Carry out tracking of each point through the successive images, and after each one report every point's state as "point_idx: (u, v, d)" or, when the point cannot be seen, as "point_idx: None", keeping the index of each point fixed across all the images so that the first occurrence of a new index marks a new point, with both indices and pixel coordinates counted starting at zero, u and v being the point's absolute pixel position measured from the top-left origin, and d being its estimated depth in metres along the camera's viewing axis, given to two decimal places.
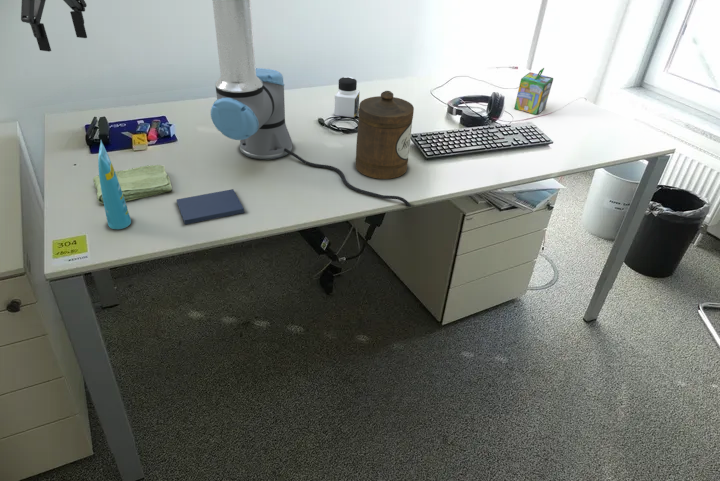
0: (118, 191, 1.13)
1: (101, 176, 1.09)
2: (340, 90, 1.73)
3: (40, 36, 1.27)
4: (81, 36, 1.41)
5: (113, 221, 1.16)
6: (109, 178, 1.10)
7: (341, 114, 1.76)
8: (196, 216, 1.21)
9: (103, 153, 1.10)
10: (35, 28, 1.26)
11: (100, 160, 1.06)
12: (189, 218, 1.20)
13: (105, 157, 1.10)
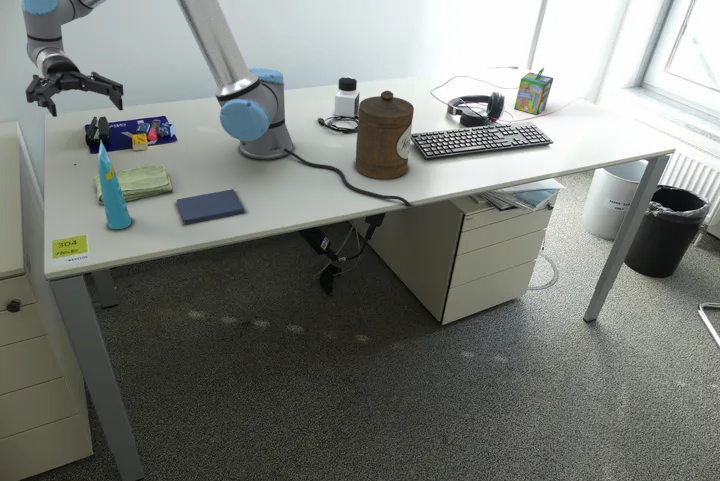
0: (118, 191, 1.13)
1: (101, 176, 1.09)
2: (340, 90, 1.73)
3: (43, 100, 1.11)
4: (118, 103, 1.18)
5: (113, 221, 1.16)
6: (109, 178, 1.10)
7: (341, 114, 1.76)
8: (196, 216, 1.21)
9: (103, 153, 1.10)
10: (38, 98, 1.12)
11: (100, 160, 1.06)
12: (189, 218, 1.20)
13: (105, 157, 1.10)
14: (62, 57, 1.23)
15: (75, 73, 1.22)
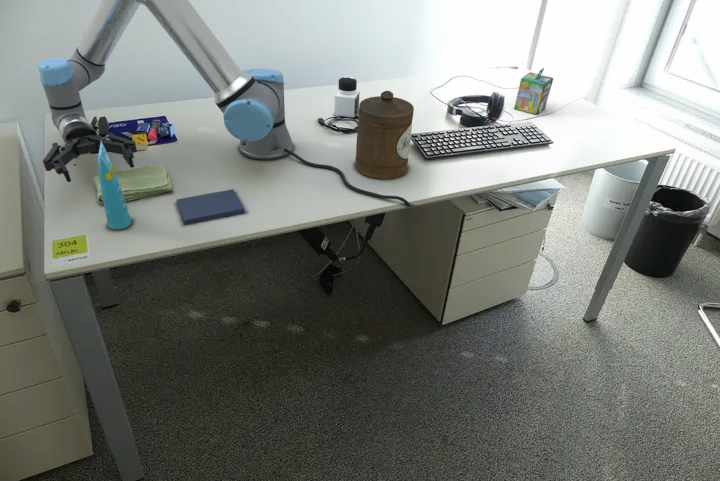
0: (118, 191, 1.13)
1: (101, 176, 1.09)
2: (340, 90, 1.73)
3: (58, 167, 1.16)
4: (129, 161, 1.21)
5: (113, 221, 1.16)
6: (109, 178, 1.10)
7: (341, 114, 1.76)
8: (196, 216, 1.21)
9: (103, 153, 1.10)
10: (54, 166, 1.17)
11: (100, 160, 1.06)
12: (189, 218, 1.20)
13: (105, 157, 1.10)
14: (79, 122, 1.29)
15: (91, 136, 1.27)
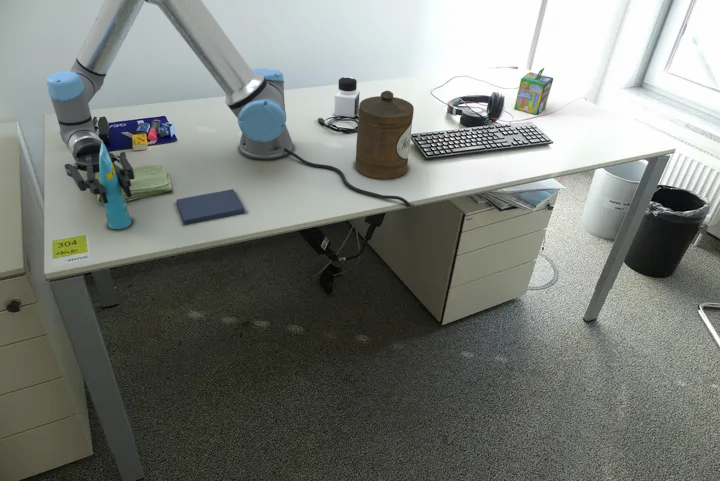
0: (118, 191, 1.13)
1: (102, 176, 1.09)
2: (340, 90, 1.73)
3: (94, 188, 1.10)
4: (126, 190, 1.11)
5: (113, 221, 1.16)
6: (110, 178, 1.10)
7: (341, 114, 1.76)
8: (196, 216, 1.21)
9: (104, 153, 1.10)
10: (89, 186, 1.11)
11: (101, 160, 1.06)
12: (189, 218, 1.20)
13: (106, 157, 1.10)
14: (90, 139, 1.22)
15: None
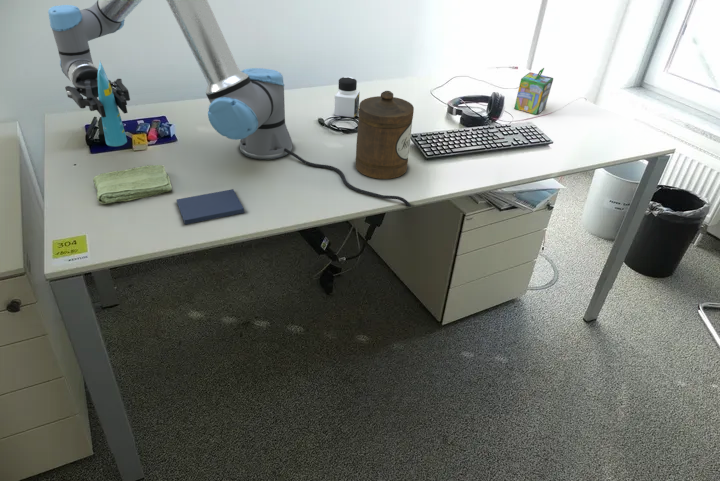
0: (115, 109, 1.23)
1: (100, 92, 1.19)
2: (340, 90, 1.73)
3: (93, 104, 1.20)
4: (122, 106, 1.21)
5: (110, 137, 1.26)
6: (107, 94, 1.20)
7: (341, 114, 1.76)
8: (196, 216, 1.21)
9: (102, 72, 1.20)
10: (89, 102, 1.21)
11: (99, 75, 1.16)
12: (189, 218, 1.20)
13: (104, 75, 1.21)
14: (88, 66, 1.32)
15: None
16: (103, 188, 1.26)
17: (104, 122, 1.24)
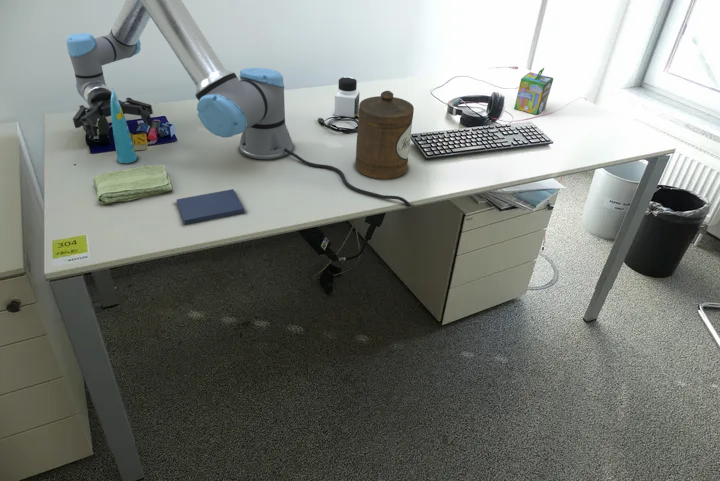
0: (126, 130, 1.38)
1: (113, 116, 1.34)
2: (340, 90, 1.73)
3: (86, 124, 1.34)
4: (147, 120, 1.39)
5: (122, 156, 1.41)
6: (119, 118, 1.35)
7: (341, 114, 1.76)
8: (196, 216, 1.21)
9: (114, 98, 1.35)
10: (82, 123, 1.35)
11: (112, 102, 1.31)
12: (189, 218, 1.20)
13: (116, 101, 1.36)
14: (102, 88, 1.47)
15: None
16: (103, 188, 1.26)
17: (116, 142, 1.39)
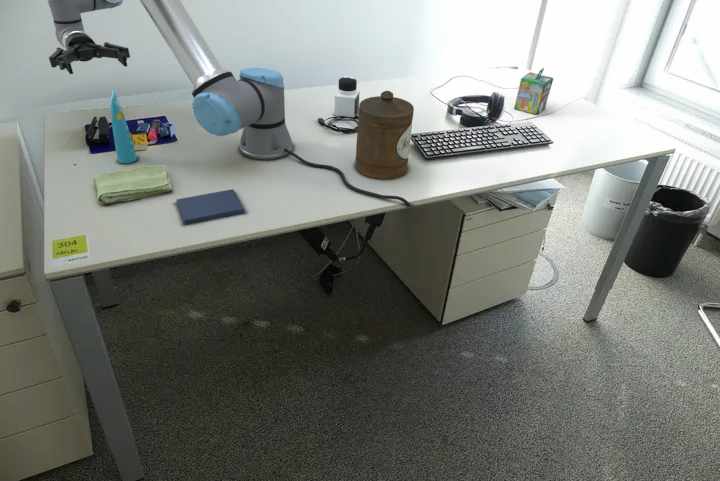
0: (126, 130, 1.38)
1: (113, 116, 1.34)
2: (340, 90, 1.73)
3: (62, 62, 1.35)
4: (123, 60, 1.40)
5: (122, 156, 1.41)
6: (119, 118, 1.35)
7: (341, 114, 1.76)
8: (196, 216, 1.21)
9: (114, 98, 1.35)
10: (58, 62, 1.37)
11: (112, 102, 1.32)
12: (189, 218, 1.20)
13: (116, 101, 1.36)
14: (80, 33, 1.48)
15: (90, 43, 1.46)
16: (103, 188, 1.26)
17: (116, 142, 1.39)
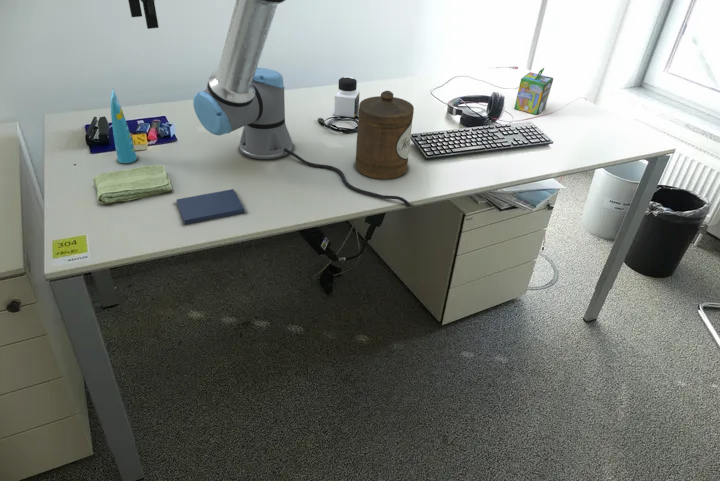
0: (126, 130, 1.38)
1: (113, 116, 1.34)
2: (340, 90, 1.73)
3: None
4: (137, 15, 1.43)
5: (122, 156, 1.41)
6: (119, 118, 1.35)
7: (341, 114, 1.76)
8: (196, 216, 1.21)
9: (114, 98, 1.35)
10: (152, 5, 1.31)
11: (112, 102, 1.31)
12: (189, 218, 1.20)
13: (116, 101, 1.36)
14: None
15: None
16: (103, 188, 1.26)
17: (116, 142, 1.39)
